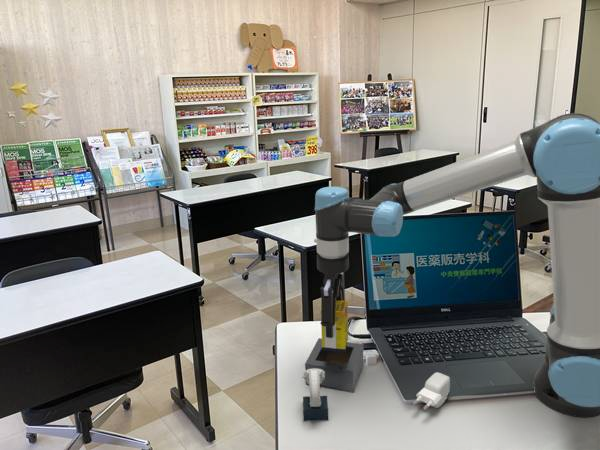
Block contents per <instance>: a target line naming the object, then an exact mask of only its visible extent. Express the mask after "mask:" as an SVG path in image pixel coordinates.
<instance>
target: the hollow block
mask: <svg viewBox="0 0 600 450" xmlns="http://www.w3.org/2000/svg"><path fill="white" fill-rule="evenodd" d="M363 366H364V344H363V343H357V342H349V341H347V345H346V351H345V352H343V351H332V350H322V337H320V338H318V339H317V341H316V342H315V345H314V346H313V349H312V350H311V352H310V354H309V356H308V357H307V360H306V361H305V363H304V369H305V370H304V371H306V370H308V369H321V370H323V371H324V372H325V378H324V380H323V381H322V383H321V384H320V388H324V389H331V390H335V391H342V392H348V393H354V392H355V389H356V387H357V384H358V381H359V378H360V375H361V371H362V369H363ZM305 385H307V386H310V385H309V384H307V382H306V381H305ZM317 386H318V385H317Z"/></svg>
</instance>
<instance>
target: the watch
mask: <svg viewBox="0 0 600 450" xmlns="http://www.w3.org/2000/svg"><path fill="white" fill-rule="evenodd" d="M324 378H325V372H324V371H323V370H321V369H308V370H306V371H305V370H304V371H303V373H302V374H301V379H304V381H305V383H306V382H307V384H309V385H308V386H309V396H308V395H307V396H302V412H303V414H302V415H303V422H313V421H316V422H317V421H329V404H328V395H320V393H321V391H320V388H321V387H320V384H321V383H322V381H323V380H324ZM317 385H318V386H317Z"/></svg>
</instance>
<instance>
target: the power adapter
mask: <svg viewBox="0 0 600 450" xmlns="http://www.w3.org/2000/svg"><path fill="white" fill-rule="evenodd" d="M450 390H451V378H450V376H449V375H446V374H443V373H441V372H439V371H437V372H434V373H433V374H431V376H430V377H428V379H427V380H426V381H425V383H424V387H423V388H421V389H420V391H418V392H417V393H416V399H415V400H414V401H413V403H412V404H413V405H414V406H416V405H417V404H418V403H419V402H422V403H425V405H424V406H423V410H424V411H426V410H427V409H428V408H429V407H434V408H436V409H437V408H440V407H441V406H443V404H444V403H445V402H446V401H445V397H446V396H447V395H448V393H449V392H450ZM449 394H450V393H449Z"/></svg>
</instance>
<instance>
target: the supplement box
mask: <svg viewBox="0 0 600 450" xmlns="http://www.w3.org/2000/svg"><path fill="white" fill-rule="evenodd" d="M348 309H349V301H348V300H345V301H339V300H336V310H335V323H336V344H337V347H336V349H334V348H328V347H325V330H324V326H322V325H321V324H320V325H321V339H322V350H332V351H343V352H345V351H346V345H347V342H349V341H348V340H349V312H348V311H349V310H348Z"/></svg>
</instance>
